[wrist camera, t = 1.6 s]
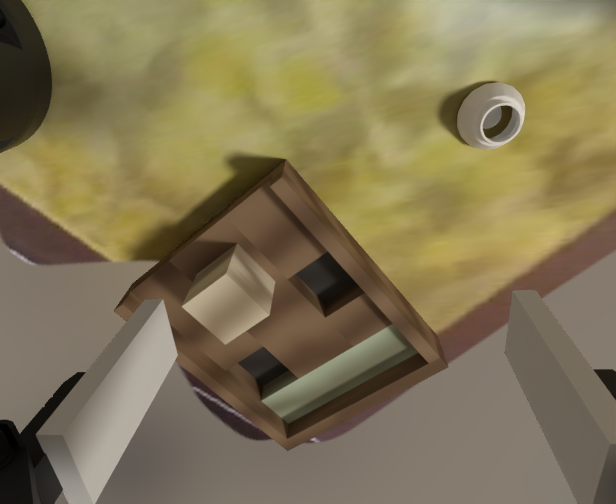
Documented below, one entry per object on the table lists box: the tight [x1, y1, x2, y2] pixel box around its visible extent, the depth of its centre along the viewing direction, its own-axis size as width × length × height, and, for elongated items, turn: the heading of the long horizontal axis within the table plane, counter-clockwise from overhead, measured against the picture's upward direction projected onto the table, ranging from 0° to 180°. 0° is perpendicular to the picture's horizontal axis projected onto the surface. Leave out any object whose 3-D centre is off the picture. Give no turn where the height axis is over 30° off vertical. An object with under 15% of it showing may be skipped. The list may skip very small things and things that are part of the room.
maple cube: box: [182, 244, 275, 345], centre depth 37 cm, size 5×5×5 cm
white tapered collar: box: [457, 82, 525, 150], centre depth 33 cm, size 5×3×5 cm
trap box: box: [114, 160, 448, 451], centre depth 42 cm, size 24×20×4 cm
